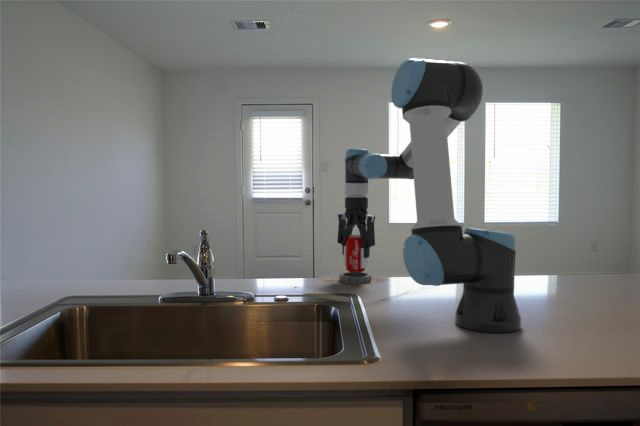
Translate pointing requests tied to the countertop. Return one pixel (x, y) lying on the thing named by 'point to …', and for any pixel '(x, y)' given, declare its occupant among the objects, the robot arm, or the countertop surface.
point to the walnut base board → (336, 281)
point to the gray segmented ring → (355, 277)
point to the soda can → (354, 254)
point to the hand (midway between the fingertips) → (355, 266)
